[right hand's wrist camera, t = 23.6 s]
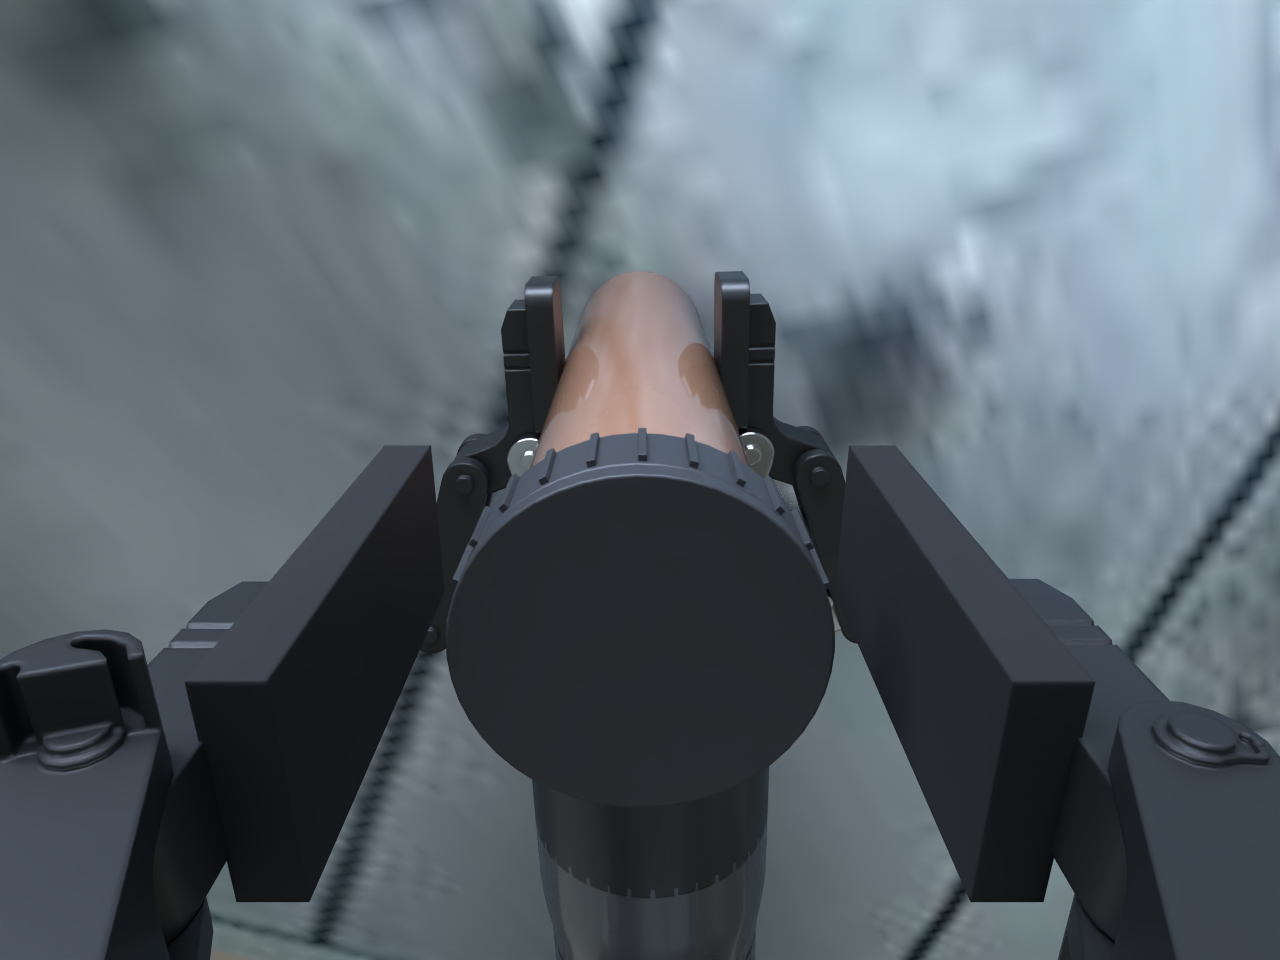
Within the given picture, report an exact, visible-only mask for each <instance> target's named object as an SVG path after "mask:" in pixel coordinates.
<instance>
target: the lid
mask: <svg viewBox="0 0 1280 960" xmlns="http://www.w3.org/2000/svg"><path fill="white" fill-rule="evenodd" d="M451 585H452V586H455V587H456V588H455V590H454V593H453V597H452V601H451V605H450V608H449V612H448V618H447V620H446V627H447V629H446V652H447V661H448V666H449V671H450V676H451V680H452V683H453V686H454V688H455V691H456V694H457V697H458V699H459V702H460V703H461V705H462V707H463V709H464V711H465V713H466V715H467V717H468V719H469V720H470V722H471V723H472V724H473V726H474V727H475V728H476V730H477V731H478V733H479V734H480V735H481V737H482V738H483V739H484V740H485V741H486V742H487V743H488V744H489V745H490V747H491V748H492V749H493V750H494V751H495V752H496V753H497V754H498V755H500V756H501V757H502V758H503V759H504V760H506V761H507V762H508V763H509V764H510V765H512V766H513V767H514V768H515V769H517V770H519V771H520V772H522V773H523V774H525V775H526V776H528V777H529V778H531V779H533V780H534V781H536V782H538V783H540V784H542V785H544V786H546V787H548V788H551V789H553V790H555V791H558V792H560V793H563V794H566V795H569V796H571V797H574V798H578V799H582V800H586V801H590V802H594V803H598V804H605V805H612V806H619V807H659V806H670V805H676V804H681V803H687V802H692V801H695V800H699V799H702V798H706V797H709V796H713V795H715V794H718V793H720V792H723V791H725V790H728V789H730V788H733V787H735V786H737V785H739V784H740V783H742V782H744V781H746V780H748V779H750V778H751V777H753V776H755V775H756V774H758V773H759V772H761V771H762V770H763V769H765V768H766V767H768V766H769V765H771V764H772V763H773V762H774V761H775V760H777V759H778V758H779V757H780V756H781V755H782V754H783V753H784V752H785V751H787V750H788V749H789V748H790V747H791V745H792V744H793V743H794V742H795V741H796V740H797V738H798V737H799V736H800V735H801V734H802V733H803V731H804V730H805V728H806V727H807V725H808V724H809V722H810V721H811V719H812V718H813V716H814V715H815V713H816V711H817V709H818V707H819V705H820V703H821V700H822V698H823V696H824V694H825V691H826V688H827V685H828V682H829V678H830V675H831V672H832V665H833V659H834V652H835V624H834V621H833V614H832V608H831V604H830V601H829V598H828V595H827V592H826V590H828V589H830V584H829V581H828V578H827V576H826V574H825V572H824V569H823V567H822V565H821V562H820V560H819V558H818V555H817V553H816V551H815V549H814V546H813V543H812V541H811V539H810V536H809V534H808V532H807V529H806V527H805V525H804V523H803V520H802V518H801V516H800V514H799V512H798V510H797V509H794V510H793V511H790V509H789V508H788V506H787V505H786V503H785V502H784V500H783V499H782V498H781V496H780V495H779V493H778V491H777V488H776V486H775V483H774V481H773V479H772V478H771V477H770V476H767V477H766V478H765V479H763V478H762V477H761V476H760V475H758V474H757V473H756V472H755V471H754V470H752V469H751V468H750V467H749V466H747V465H745V464H744V463H742V462H740V460H739V457H738V454H737V453H736V452H735V451H733V450H730V451H729V453H728V454H727V453H725V452H722V451H720V450H718V449H716V448H713V447H711V446H709V445H706V444H703V443H700V442H696V441H695V438H694V435H692V434H688V433H686V435H685V438H682V437H676V436H670V435H664V434H650V433H647V429H646V428H638V433H629V434H617V435H609V436H605V437H600V436H599V433H598V432H597V433H593V434H591V435H590V440H587V441H584V442H581V443H578V444H575V445H572V446H570V447H567V448H564V449H562V450H560V451H558V452H556V451H555V449H554V448H552V449H550V450H548V451H547V452H546V455H545V459H543V460H542V461H540V462H539V463H537V464H536V465H534V466H533V467H531V468H530V469H528V470H527V471H526V472H524V473H523V474H522V475H521V476H520V477H519V476H518V475H517V474H516V473H514V474H513V475H512V476H511V477H510V479H509V481H508V484H507V487H506V489H505V492H504V493H503V494H502V495H501V496H500V498H499V499H498V500H497V501H496V502H495V504H494V505H493V507H492V509H491V508H490V507H488V506H486V507H485V508H484V510H483V511H482V514H481V516H480V518H479V521H478V523H477V525H476V528H475V530H474V532H473V535H472V537H471V539H470V542H469V543H468V545H467V547H466V549H465V552H464V554H463V556H462V559H461V561H460V563H459V565H458V568H457V570H456V572H455V575H454V577H453V580H452V583H451Z"/></svg>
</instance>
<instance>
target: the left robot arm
mask: <svg viewBox="0 0 1280 960" xmlns="http://www.w3.org/2000/svg"><path fill="white" fill-rule="evenodd" d="M775 328H776V323H775V320H774V317H773V314H772V312H771V309H770V306H769V304H768V302H767V301H766V300H765V298H764V297H763V296H762V295H761V294H750V286H749V279H748V278H747V276H746V275H745V274H744V273H743V271H733V272H716V273H715V285H714V361H715V364H716V367H717V370H718V373H719V376H720V378H721V381H722V384H723V387H724V390H725V393H726V396H727V399H728V401H729V404H730V407H731V410H732V413H733V416H734V419H735V422H736V425H737V427H738V430H739V433H740V436H741V439H742V442H743V445H744V448H745V450H746V453H747V456H748V459H749V462H750V465H751V468H752V470H754V471H755V472H756V473H757V474H758V475H760V476H761V477H762V478H763V479H765V478H766V477H767V476H770V477H771V478H772V479H775V480H778V481H781V482H785V483H788V484H791V485H793V488H794V492H795V495H796V498H797V501H798V505H799V508H800V511H801V514H802V518H803V521H804V524H805V527H806V529H807V532H808V534H809V536H810V539H811V541H812V543H813V546H814V549H815V551H816V553H817V555H818V558H819V560H820V562H821V565H822V567H823V569H824V572H825V574H826V576H827V578H828V581H829V584H830V589H828V590H826V592H827V595H828V598H829V601H830V604H831V608H832V614H833V621H834V624H835V632H836V631H839V630H841V631H842V633H843V635H844V636H845V638H846V639H848V640H849V641H851V642H853V643H857V641H856V638H855V636H854V634H853V632H852V629H851V627H850V625H849V622H848V620H847V618H846V616H845V613H844V611H843V609H842V606H841V604H840V602H839V600H838V597H837V595H836V593H835V587H836V577H837V566H838V556H839V546H840V535H841V525H842V515H843V504H844V494H845V484H846V483H845V480H844V476H843V473H842V469H841V467H840V465H839V463H838V462H837V460H836V458H835V457H834V455H833V453H832V452H831V450H830V449H829V447H828V445H827V444H826V442H825V441H824V439H823V438H822V436H821V434H820V433H819V432H818V431H817V430H815V429H814V428H812V427H808V426H800V427H795V426H792V425H789V424H786V423H783V422H780V421H778V420H777V419H775V418H774V417H773V390H774V359H775ZM501 334H502V345H503V352H504V354H503V356H504V367H505V378H506V389H507V400H508V411H509V424H508V425H507V426H506V427H504V428H503V429H501V430H498V431H496V432H493V433H490V434H488V435H485V434H474V435H471V436H469V437H467V438H466V439H465V440H464V441H463V443H462V444H461V446H460V448H459V450H458V452H457V456H456V458H455V460H454V461H453V462H452V463H451V464H450V465H449V466H448V468H447V470H446V471H445V473H444V475H443V478H442V482H441V486H440V491H439V495H438V500H437V515H438V525H439V536H440V546H441V556H442V567H443V577H444V587H445V593H444V595H443V597H442V600H441V602H440V604H439V606H438V609H437V611H436V613H435V616H434V618H433V620H432V622H431V625H430V627H429V629H428V632H427V634H426V636H425V638H424V641H423V643H422V645H421V648H420V650H421V651H424V652H427V653H437V652H441V651H443V650H444V649H446V629H447V627H446V620H447V618H448V612H449V608H450V605H451V601H452V597H453V593H454V590H455V588H456V587H455V586H452V585H451V583H452V580H453V577H454V575H455V572H456V570H457V568H458V565H459V563H460V561H461V559H462V556H463V554H464V552H465V549H466V547H467V545H468V543H469V542H470V539H471V537H472V535H473V532H474V530H475V528H476V525H477V523H478V521H479V518H480V516H481V514H482V511H483V510H484V508H485V507H486V506H488V507H490V503H491V498H492V494H493V492H496V491H498V490H501V489H504V488H506V487H507V484H508V481H509V479H510V477H511V476H512V475H513V474H514V473H516V474H517V475H518V476H519V477H520V476H521V475H522V474H523V473H524V472H526V471H527V470H528V469H529V467H530V464H531V461H532V458H533V455H534V453H535V450H536V447H537V444H538V441H539V438H540V435H541V432H542V429H543V426H544V423H545V421H546V418H547V415H548V412H549V409H550V406H551V403H552V400H553V397H554V394H555V391H556V389H557V386H558V383H559V380H560V377H561V374H562V371H563V368H564V365H565V348H564V332H563V316H562V300H561V286H560V279H559V276H536V277H531V279H530V280H529V281H528V282H527V283H526V286H525V300H515V301H514V302H513V303H512V305H511V306H510V307H509V308H508V310H507V313H506V316H505V319H504V322H503V326H502V329H501ZM532 782H533V794H534V805H535V816H536V827H537V837H538V848H539V857H540V868H541V877H542V884H543V889H544V894H545V898H546V902H547V906H548V910H549V913H550V917H551V920H552V923H553V929H554V938H555V949H556V960H755V929H756V920H757V915H758V911H759V907H760V902H761V897H762V891H763V886H764V879H765V865H766V840H767V813H768V782H769V766H768V767H766V768H765V769H763V770H762V771H761V772H759V773H758V774H756V775H755V776H753V777H751V778H750V779H748V780H746V781H744V782H742V783H740V784H739V785H737V786H735V787H733V788H730V789H728V790H725V791H723V792H720V793H718V794H715V795H713V796H709V797H706V798H702V799H699V800H695V801H692V802H687V803H681V804H676V805H670V806H659V807H619V806H612V805H605V804H598V803H594V802H590V801H586V800H582V799H578V798H574V797H571V796H569V795H566V794H563V793H560V792H558V791H555V790H553V789H551V788H548V787H546V786H544V785H542V784H540V783H538V782H536V781H534V780H533V779H532Z"/></svg>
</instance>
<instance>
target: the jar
mask: <svg viewBox="0 0 1280 960" xmlns="http://www.w3.org/2000/svg"><path fill="white" fill-rule="evenodd" d="M638 428H646V429H647V433H650V434H664V435H670V436H676V437H682V438H685V435H686V433H688V434H692V435H694V438H695V441H696V442H700V443H703V444H706V445H709V446H711V447H713V448H716V449H718V450H720V451H722V452H725V453H727V454H728V453H729V451H730V450H733V451H735V452H736V453H737V454H738V457H739V460H740V462H742V463H744V464H745V465H747V466H749V467H750V468H751V465H750V462H749V459H748V456H747V453H746V450H745V448H744V445H743V442H742V439H741V436H740V433H739V430H738V427H737V425H736V422H735V419H734V416H733V413H732V410H731V407H730V404H729V401H728V399H727V396H726V393H725V390H724V387H723V384H722V381H721V378H720V376H719V373H718V370H717V367H716V364H715V361H714V358H713V355H712V353H711V350H710V347H709V344H708V341H707V338H706V335H705V332H704V329H703V327H702V324H701V321H700V318H699V315H698V312H697V310H696V308H695V305H694V303H693V302H692V300H691V298H690V297H689V296H688V295H687V293H686V292H685V291H684V290H683V289H682V288H681V287H680V286H679V285H677V284H676V283H674V282H673V281H671V280H669V279H668V278H666V277H663V276H661V275H658V274H654V273H649V272H632V273H626V274H623V275H619V276H617V277H615V278H613V279H610V280H609V281H607V282H606V283H604V284H603V285H602V286H600V287H599V288H598V289H597V290H596V291H595V292H594V293H593V295H592V296H591V297H590V299H589V300H588V302H587V304H586V306H585V308H584V310H583V313H582V316H581V319H580V322H579V325H578V327H577V330H576V333H575V336H574V339H573V342H572V345H571V348H570V351H569V354H568V357H567V359H566V362H565V365H564V368H563V371H562V374H561V377H560V380H559V383H558V386H557V389H556V391H555V394H554V397H553V400H552V403H551V406H550V409H549V412H548V415H547V418H546V421H545V423H544V426H543V429H542V432H541V435H540V438H539V441H538V444H537V447H536V450H535V453H534V455H533V458H532V461H531V464H530V467H529V469H530V468H531V467H533V466H534V465H536V464H537V463H539V462H540V461H542V460H543V459H545V455H546V452H547V451H548V450H550V449H552V448H554V449H555V451H556V452H558V451H560V450H562V449H564V448H567V447H570V446H572V445H575V444H578V443H581V442H584V441H587V440H590V435H591V434H593V433H597V432H598V433H599V436H600V437H605V436H609V435H617V434H629V433H638ZM751 469H752V468H751Z"/></svg>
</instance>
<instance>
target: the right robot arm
mask: <svg viewBox="0 0 1280 960" xmlns="http://www.w3.org/2000/svg"><path fill="white" fill-rule="evenodd" d="M444 593H445V587H444V577H443V567H442V556H441V546H440V536H439V525H438V515H437V505H436V494H435V484H434V474H433V463H432V453H431V446H384V447H383V448H382V449H381V451H380V452H379V453H378V454H377V455H376V457H375V458H374V459H373V460H372V461H371V462H370V464H369V465H368V466H367V467H366V468H365V470H364V471H363V472H362V473H361V474H360V475H359V477H358V478H357V479H356V480H355V481H354V482H353V484H352V485H351V486H350V487H349V488H348V490H347V491H346V492H345V493H344V494H343V495H342V497H341V498H340V499H339V500H338V501H337V502H336V504H335V505H334V506H333V507H332V508H331V510H330V511H329V512H328V513H327V514H326V515H325V517H324V518H323V519H322V520H321V521H320V523H319V524H318V525H317V526H316V527H315V528H314V530H313V531H312V532H311V533H310V534H309V535H308V537H307V538H306V539H305V540H304V541H303V543H302V544H301V545H300V546H299V547H298V548H297V550H296V551H295V552H294V553H293V554H292V555H291V557H290V558H289V559H288V560H287V561H286V563H285V564H284V565H283V566H282V567H281V568H280V570H279V571H278V572H277V573H276V574H275V575H274V577H273V578H272V579H271V580H270V581H269V582H241V583H239V584H238V585H236V586H234V587H232V588H231V589H229V590H227V591H225V592H224V593H222V594H220V595H218V596H217V597H215V598H213V599H211V600H210V601H208V602H207V603H206V604H205V605H204V606H203V607H202V609H201V610H200V611H199V612H198V613H197V614H196V615H195V616H194V617H193V618H192V619H191V620H190V621H189V622H188V623H187V628H186V629H182V630H181V631H180V632H179V633H178V634H177V635H176V636H175V637H174V638H173V639H172V640H171V641H170V642H169V647H168V648H164V649H163V650H162V651H161V652H160V653H159V654H158V655H157V656H156V657H155V658H154V659H153V660H152V661H151V662H150V663H149V665H148V666H147V662H146V658H145V654H144V650H143V646H142V642H141V641H140V640H138V639H137V638H135V637H134V636H132V635H131V634H129V633H125V632H118V631H112V630H95V631H82V632H74V633H70V634H66V635H62V636H58V637H53V638H49V639H45V640H42V641H40V642H37V643H35V644H32V645H30V646H27V647H25V648H22V649H20V650H17V651H15V652H13V653H11V654H9V655H8V656H6V657H4V658H3V659H1V660H0V960H210V954H211V946H212V937H213V926H212V920H211V914H210V910H209V906H208V902H207V898H206V896H207V894H208V892H209V890H210V889H211V887H212V885H213V883H214V882H215V880H216V878H217V877H218V875H219V873H220V871H221V870H222V868H223V866H224V864H225V863H226V861H227V864H228V868H229V872H230V876H231V881H232V885H233V889H234V893H235V897H236V902H310V899H311V897H312V895H313V893H314V890H315V888H316V886H317V883H318V881H319V879H320V877H321V874H322V872H323V870H324V867H325V865H326V863H327V860H328V858H329V856H330V854H331V851H332V849H333V847H334V844H335V842H336V840H337V838H338V835H339V833H340V831H341V828H342V826H343V824H344V822H345V819H346V817H347V815H348V812H349V810H350V808H351V806H352V803H353V801H354V799H355V796H356V794H357V792H358V790H359V787H360V785H361V783H362V780H363V778H364V776H365V774H366V771H367V769H368V767H369V764H370V762H371V760H372V757H373V755H374V753H375V751H376V748H377V746H378V744H379V741H380V739H381V737H382V735H383V732H384V730H385V728H386V725H387V723H388V721H389V719H390V716H391V714H392V712H393V709H394V707H395V705H396V703H397V700H398V698H399V696H400V693H401V691H402V689H403V687H404V684H405V682H406V680H407V677H408V675H409V673H410V670H411V668H412V666H413V664H414V661H415V659H416V657H417V654H418V652H419V650H420V648H421V645H422V643H423V641H424V638H425V636H426V634H427V632H428V629H429V627H430V625H431V622H432V620H433V618H434V616H435V613H436V611H437V609H438V606H439V604H440V602H441V600H442V597H443V595H444ZM835 593H836V595H837V597H838V600H839V602H840V604H841V606H842V609H843V611H844V613H845V616H846V618H847V620H848V622H849V625H850V627H851V629H852V632H853V634H854V636H855V638H856V641H857V643H858V645H859V648H860V650H861V652H862V655H863V657H864V659H865V661H866V664H867V666H868V668H869V671H870V673H871V675H872V677H873V680H874V682H875V684H876V687H877V689H878V691H879V693H880V696H881V698H882V700H883V703H884V705H885V707H886V709H887V712H888V714H889V716H890V719H891V721H892V723H893V725H894V728H895V730H896V732H897V735H898V737H899V739H900V742H901V744H902V746H903V748H904V751H905V753H906V755H907V758H908V760H909V762H910V764H911V767H912V769H913V771H914V774H915V776H916V778H917V780H918V783H919V785H920V787H921V790H922V792H923V794H924V796H925V799H926V801H927V803H928V806H929V808H930V810H931V812H932V815H933V817H934V819H935V822H936V824H937V826H938V828H939V831H940V833H941V835H942V838H943V840H944V842H945V845H946V847H947V849H948V851H949V854H950V856H951V858H952V861H953V863H954V865H955V867H956V870H957V872H958V874H959V877H960V879H961V881H962V883H963V886H964V888H965V890H966V893H967V895H968V897H969V899H970V902H1044V897H1045V893H1046V889H1047V885H1048V880H1049V876H1050V872H1051V868H1052V864H1053V859H1054V858H1055V860H1056V862H1057V864H1058V865H1059V867H1060V869H1061V870H1062V872H1063V874H1064V876H1065V877H1066V879H1067V881H1068V882H1069V884H1070V886H1071V888H1072V889H1073V891H1074V893H1075V894H1074V898H1073V902H1072V906H1071V910H1070V914H1069V918H1068V922H1067V926H1066V930H1065V934H1064V937H1063V941H1062V945H1061V949H1060V953H1059V957H1058V960H1280V756H1279V755H1278V754H1277V753H1276V752H1275V750H1274V749H1273V748H1272V747H1271V745H1270V744H1269V743H1268V742H1267V741H1266V740H1265V739H1263V738H1262V737H1260V736H1259V735H1257V734H1256V733H1255V732H1253V731H1252V730H1250V729H1249V728H1248V727H1246V726H1245V725H1243V724H1241V723H1239V722H1237V721H1235V720H1233V719H1230V718H1228V717H1226V716H1224V715H1222V714H1219V713H1217V712H1215V711H1213V710H1209V709H1205V708H1202V707H1198V706H1194V705H1191V704H1187V703H1184V702H1174V701H1170V700H1169V699H1168V698H1167V697H1166V696H1165V695H1164V694H1163V693H1162V692H1161V691H1160V690H1159V689H1158V688H1157V687H1156V686H1155V685H1154V684H1153V683H1152V682H1151V681H1150V679H1149V678H1148V677H1147V676H1146V675H1145V674H1144V673H1143V672H1142V671H1141V670H1140V669H1139V668H1138V667H1137V666H1136V665H1135V664H1134V663H1133V662H1132V661H1131V660H1130V658H1129V657H1128V656H1127V655H1126V654H1125V653H1124V652H1123V651H1122V650H1121V649H1120V648H1119V647H1118V646H1117V645H1112V640H1111V639H1110V638H1109V636H1108V635H1107V634H1106V633H1105V632H1104V631H1103V630H1102V629H1101V628H1100V627H1099V626H1094V621H1093V620H1092V619H1091V618H1090V617H1089V615H1088V614H1087V613H1086V612H1085V611H1084V610H1083V609H1082V608H1081V607H1080V606H1079V605H1078V604H1077V603H1076V602H1075V601H1074V600H1073V599H1072V598H1071V597H1069V596H1067V595H1065V594H1064V593H1062V592H1060V591H1058V590H1057V589H1055V588H1053V587H1051V586H1050V585H1048V584H1046V583H1044V582H1043V581H1041V580H1039V579H1008V578H1007V577H1006V576H1005V574H1004V573H1003V572H1002V571H1001V570H1000V568H999V567H998V566H997V565H996V564H995V563H994V561H993V560H992V559H991V558H990V557H989V555H988V554H987V553H986V552H985V551H984V550H983V548H982V547H981V546H980V545H979V544H978V543H977V541H976V540H975V539H974V538H973V537H972V535H971V534H970V533H969V532H968V531H967V530H966V528H965V527H964V526H963V525H962V524H961V523H960V521H959V520H958V519H957V518H956V517H955V515H954V514H953V513H952V512H951V511H950V510H949V508H948V507H947V506H946V505H945V504H944V503H943V501H942V500H941V499H940V498H939V497H938V495H937V494H936V493H935V492H934V491H933V490H932V488H931V487H930V486H929V485H928V484H927V482H926V481H925V480H924V479H923V478H922V477H921V475H920V474H919V473H918V472H917V471H916V470H915V468H914V467H913V466H912V465H911V464H910V462H909V461H908V460H907V459H906V458H905V457H904V455H903V454H902V453H901V452H900V451H899V450H898V448H897V447H896V446H849V453H848V463H847V474H846V484H845V494H844V504H843V515H842V525H841V535H840V546H839V556H838V566H837V577H836V587H835Z"/></svg>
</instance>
